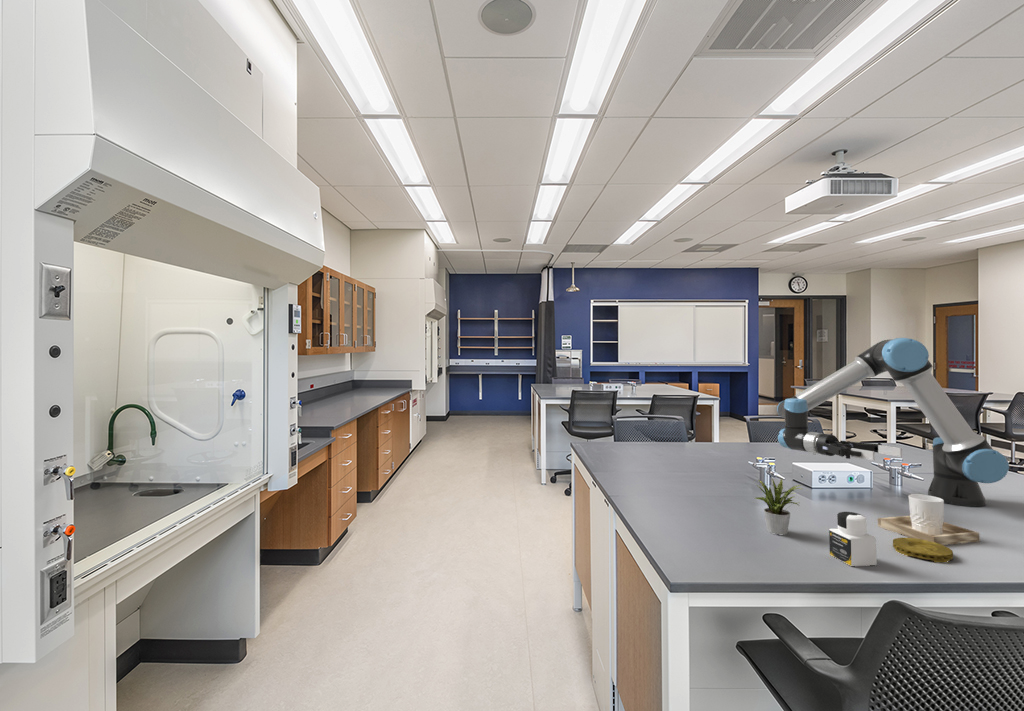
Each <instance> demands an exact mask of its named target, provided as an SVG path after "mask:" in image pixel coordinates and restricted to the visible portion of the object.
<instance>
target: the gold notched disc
mask: <svg viewBox="0 0 1024 711" xmlns="http://www.w3.org/2000/svg"><path fill="white" fill-rule="evenodd" d="M892 547H893V548H894V549H895V550H896V551H897V553H898V552H899V553H898V554H900V553H901V555H902V554H904V555H903V556H905V555H907V556H906V557H915V558H918V559H922V560H929V561H932V562H933V561H934V562H933V563H937V562H947V561H949V562H950V561H951V560H953V559H954V551H953V550H952V549H951V548H950V547H948V546H947V545H941V544H938V543H935V542H931V541H927V540H922V539H916V538H909V537H895V538H894V539H893V540H892ZM895 550H894V551H895ZM896 551H895V552H896Z"/></svg>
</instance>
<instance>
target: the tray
mask: <svg viewBox="0 0 1024 711" xmlns="http://www.w3.org/2000/svg"><path fill="white" fill-rule="evenodd" d="M878 526H879V528H881V529H885V530H888V531H889V532H892V531H893V532H892V533H895V532H897V533H896V534H898V533H899V534H898V535H901V534H902V535H901V536H904V535H905V536H904V537H906V536H907V537H906V538H909V537H910V538H916V539H922V540H927V541H931V542H935V543H938V544H941V545H944V546H949V545H948V544H951V545H958V544H957V543H961V544H968V542H971V543H979V542H980V532H978V531H975V530H972V529H968V528H965V527H961V526H958V525H955V524H952V523H948V522H945V521H943V525H942V535H929V534H926V533H923V532H920V531H917V530H914V529H912V524H911V519H910V515H900V516H890V517H879V518H877V527H878Z"/></svg>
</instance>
